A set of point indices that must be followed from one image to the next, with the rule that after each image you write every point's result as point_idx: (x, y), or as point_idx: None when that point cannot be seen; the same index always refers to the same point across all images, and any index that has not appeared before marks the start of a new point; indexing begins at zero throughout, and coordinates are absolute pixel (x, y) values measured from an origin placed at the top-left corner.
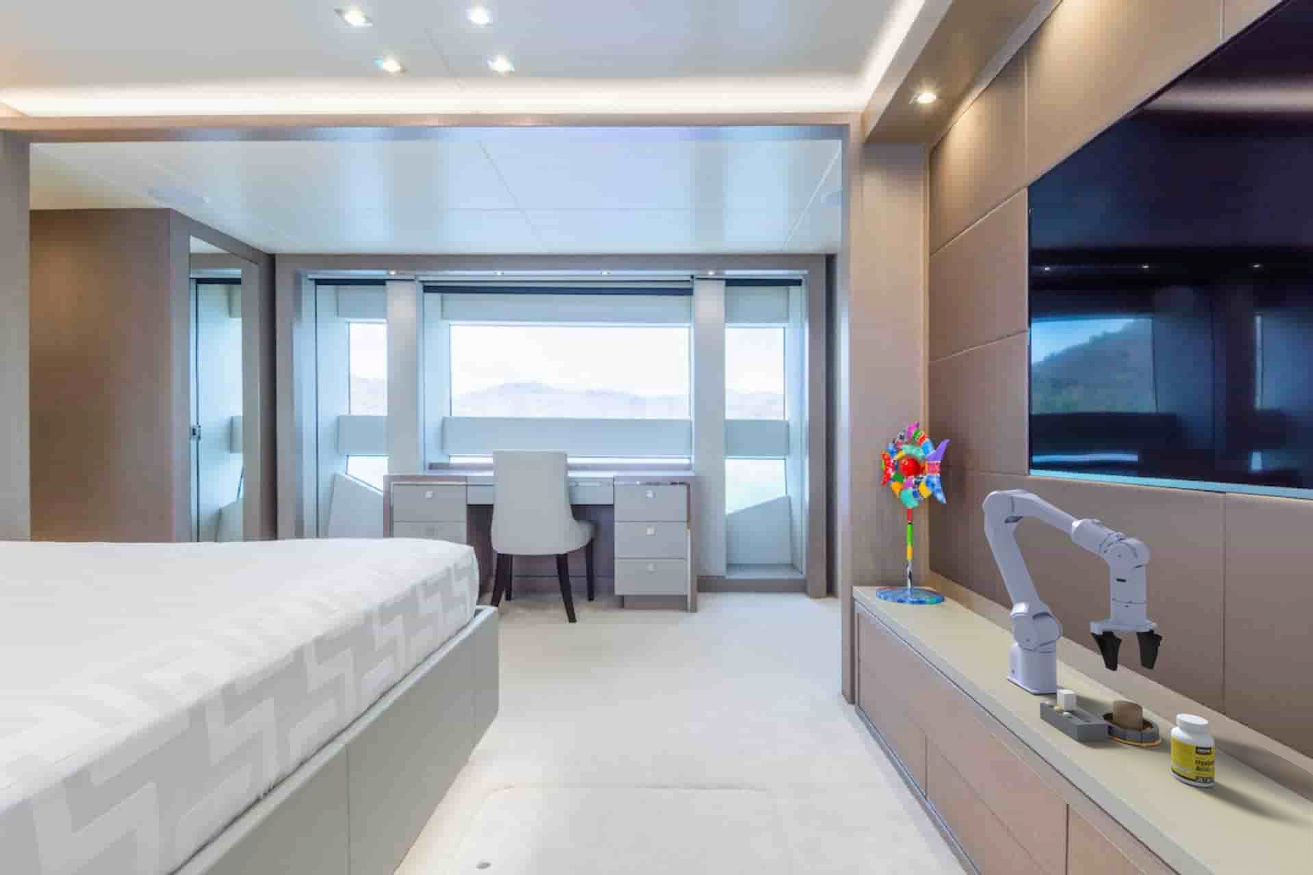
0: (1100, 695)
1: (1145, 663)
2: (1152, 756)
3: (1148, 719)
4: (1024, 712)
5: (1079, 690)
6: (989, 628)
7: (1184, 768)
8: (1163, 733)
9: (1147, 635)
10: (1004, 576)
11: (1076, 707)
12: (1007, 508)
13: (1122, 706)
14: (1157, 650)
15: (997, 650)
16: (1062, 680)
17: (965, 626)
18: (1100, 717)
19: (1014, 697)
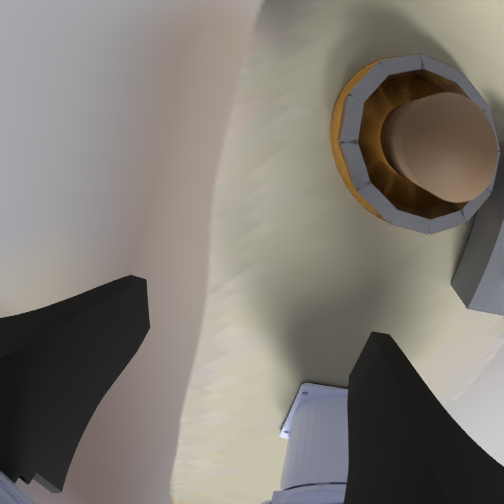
0: (233, 348)
1: (136, 320)
2: (464, 34)
3: (346, 124)
4: (498, 327)
5: (257, 379)
6: (188, 490)
7: None
8: (304, 103)
9: (12, 446)
10: None
11: (492, 268)
12: None
13: (482, 149)
14: (31, 321)
15: (241, 479)
16: (244, 413)
17: (214, 500)
18: (477, 201)
19: (436, 387)
